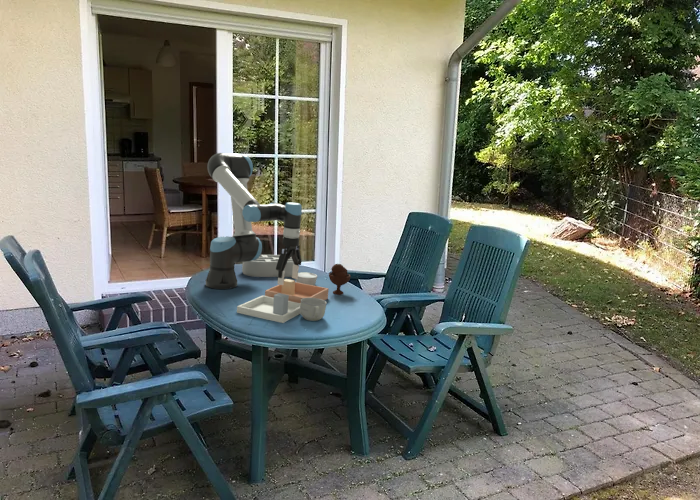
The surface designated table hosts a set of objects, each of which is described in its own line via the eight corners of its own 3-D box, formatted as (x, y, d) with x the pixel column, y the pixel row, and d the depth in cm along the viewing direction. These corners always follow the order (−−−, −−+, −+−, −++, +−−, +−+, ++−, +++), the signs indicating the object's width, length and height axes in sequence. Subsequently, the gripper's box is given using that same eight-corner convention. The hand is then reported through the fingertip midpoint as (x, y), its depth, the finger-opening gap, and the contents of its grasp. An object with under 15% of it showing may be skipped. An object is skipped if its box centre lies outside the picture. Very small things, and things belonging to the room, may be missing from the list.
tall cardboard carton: (281, 297, 251) (282, 280, 250) (285, 295, 255) (286, 278, 253) (290, 298, 250) (291, 282, 248) (294, 296, 253) (295, 280, 252)
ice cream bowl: (346, 297, 261) (349, 267, 258) (324, 294, 263) (326, 264, 260) (351, 292, 271) (353, 263, 268) (329, 289, 273) (332, 260, 270)
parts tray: (236, 313, 225) (237, 306, 224) (262, 301, 243) (262, 295, 243) (283, 323, 217) (283, 316, 216) (305, 311, 235) (306, 304, 235)
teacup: (299, 313, 231) (300, 296, 229) (324, 315, 232) (326, 297, 230) (299, 325, 217) (300, 305, 216) (326, 326, 218) (327, 307, 217)
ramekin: (321, 285, 278) (321, 275, 277) (305, 288, 270) (305, 278, 269) (306, 280, 286) (307, 271, 285) (290, 283, 278) (291, 273, 277)
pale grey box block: (272, 313, 228) (274, 295, 226) (277, 311, 231) (278, 293, 230) (282, 315, 226) (284, 297, 224) (287, 313, 230) (288, 295, 228)
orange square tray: (264, 301, 245) (265, 290, 244) (287, 290, 264) (288, 280, 263) (307, 310, 237) (307, 299, 236) (327, 298, 257) (328, 288, 256)
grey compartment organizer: (296, 277, 292) (297, 261, 290) (244, 277, 282) (244, 261, 281) (289, 269, 307) (290, 255, 305) (239, 269, 298) (240, 254, 296)
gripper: (285, 241, 234) (281, 288, 239) (310, 234, 257) (307, 277, 261) (270, 239, 237) (266, 285, 241) (296, 231, 259) (293, 274, 264)
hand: (287, 281), depth 251 cm, fingers open, 13 cm apart
